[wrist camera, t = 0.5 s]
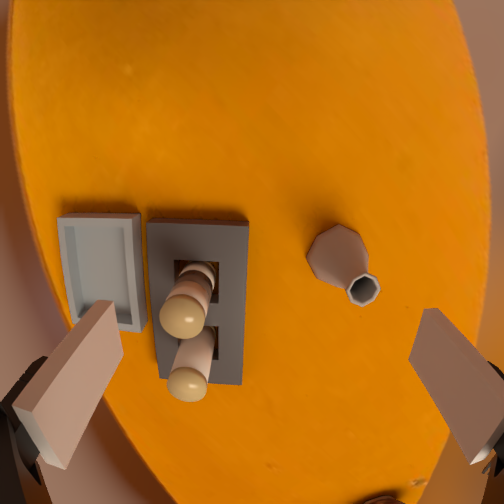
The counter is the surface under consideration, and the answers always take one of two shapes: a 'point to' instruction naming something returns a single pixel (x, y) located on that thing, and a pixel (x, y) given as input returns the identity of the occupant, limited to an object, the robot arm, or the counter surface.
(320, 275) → the flask
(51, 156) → the counter surface
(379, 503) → the ceramic jug
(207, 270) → the cylinder
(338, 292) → the counter surface
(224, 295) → the block
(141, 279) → the parts tray
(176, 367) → the cylinder
